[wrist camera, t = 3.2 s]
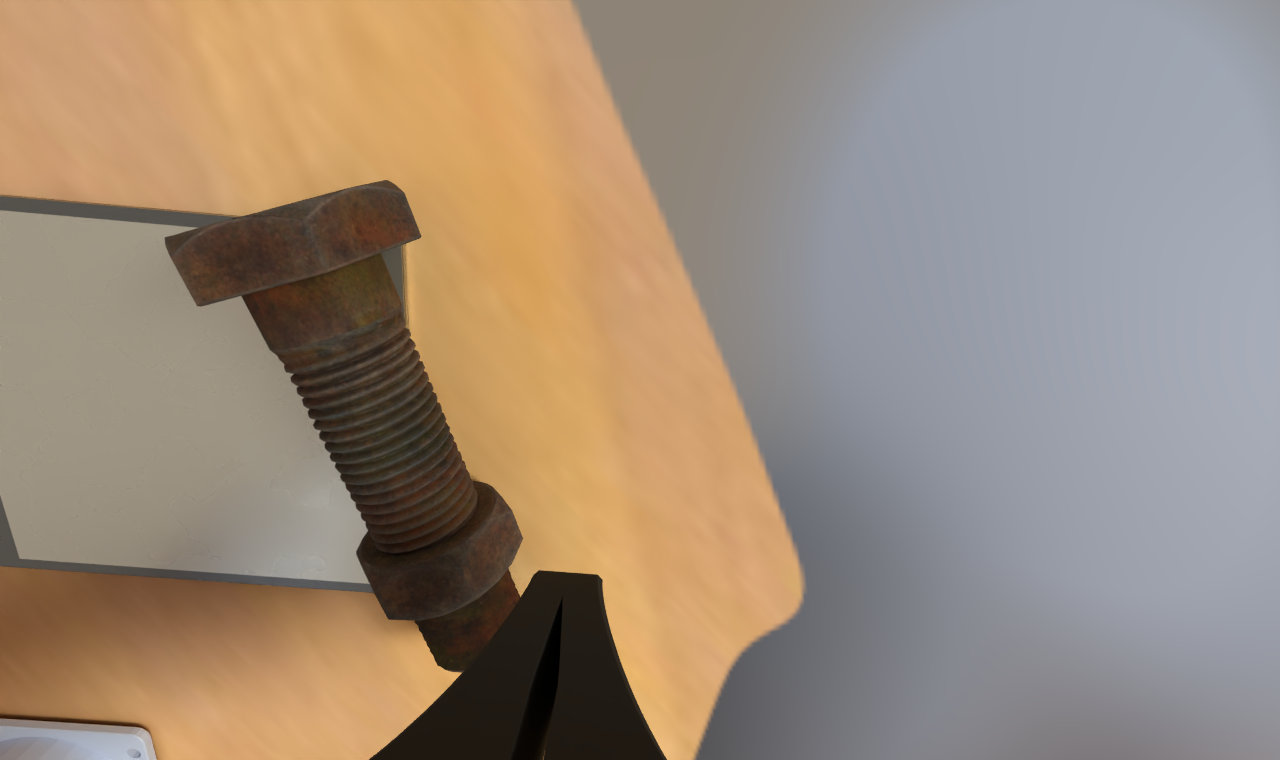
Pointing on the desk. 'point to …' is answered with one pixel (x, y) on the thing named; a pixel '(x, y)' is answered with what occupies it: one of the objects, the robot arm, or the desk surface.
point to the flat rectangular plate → (154, 414)
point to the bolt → (369, 402)
